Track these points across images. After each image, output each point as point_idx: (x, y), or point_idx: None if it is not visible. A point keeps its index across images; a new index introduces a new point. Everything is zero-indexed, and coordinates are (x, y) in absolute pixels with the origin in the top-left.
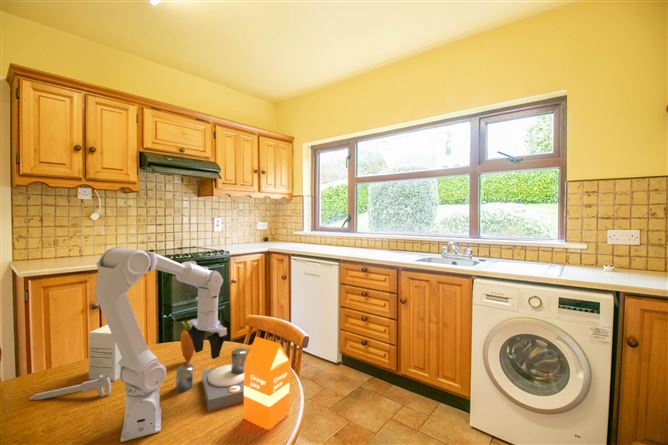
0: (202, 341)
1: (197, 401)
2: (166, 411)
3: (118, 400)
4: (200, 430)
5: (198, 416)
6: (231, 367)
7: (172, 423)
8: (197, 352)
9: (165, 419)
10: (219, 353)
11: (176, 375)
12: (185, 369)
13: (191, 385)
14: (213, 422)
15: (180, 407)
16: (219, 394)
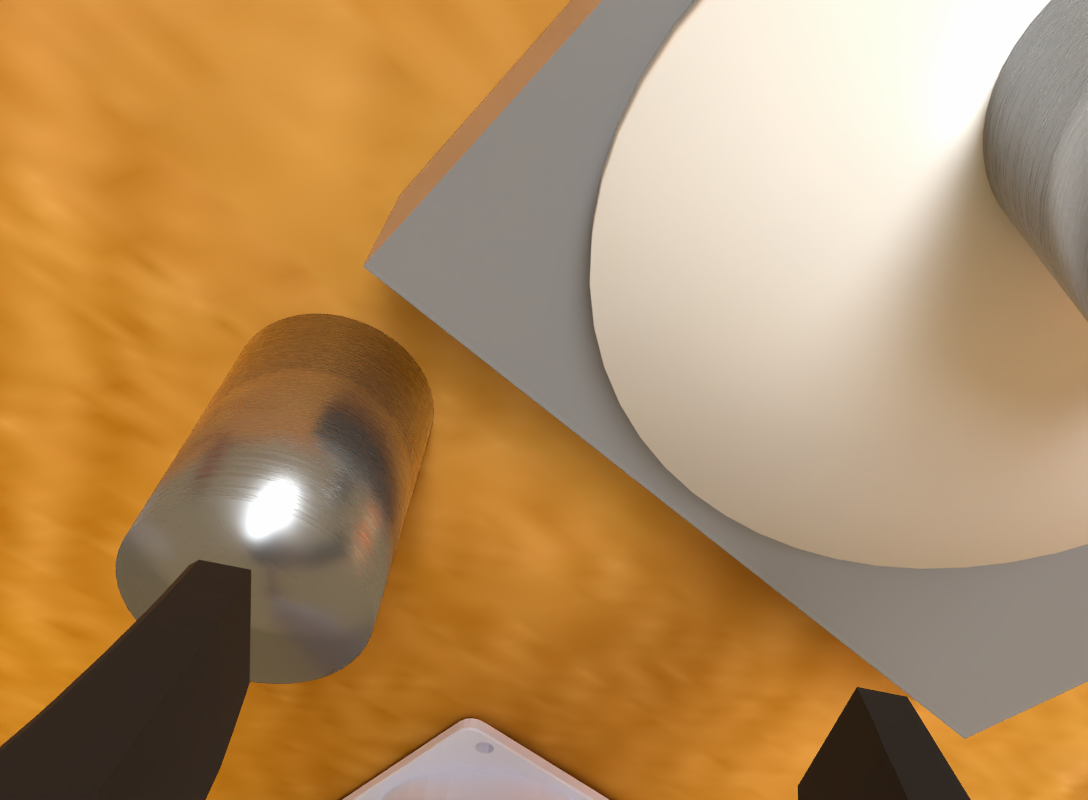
0: (127, 781)
1: (705, 552)
2: (533, 707)
3: (2, 695)
4: (997, 794)
5: None
6: (1039, 258)
7: (709, 783)
8: (248, 665)
9: (615, 766)
10: (944, 769)
11: None
12: (301, 625)
13: (422, 411)
14: (1067, 722)
15: (608, 650)
16: (1049, 651)
